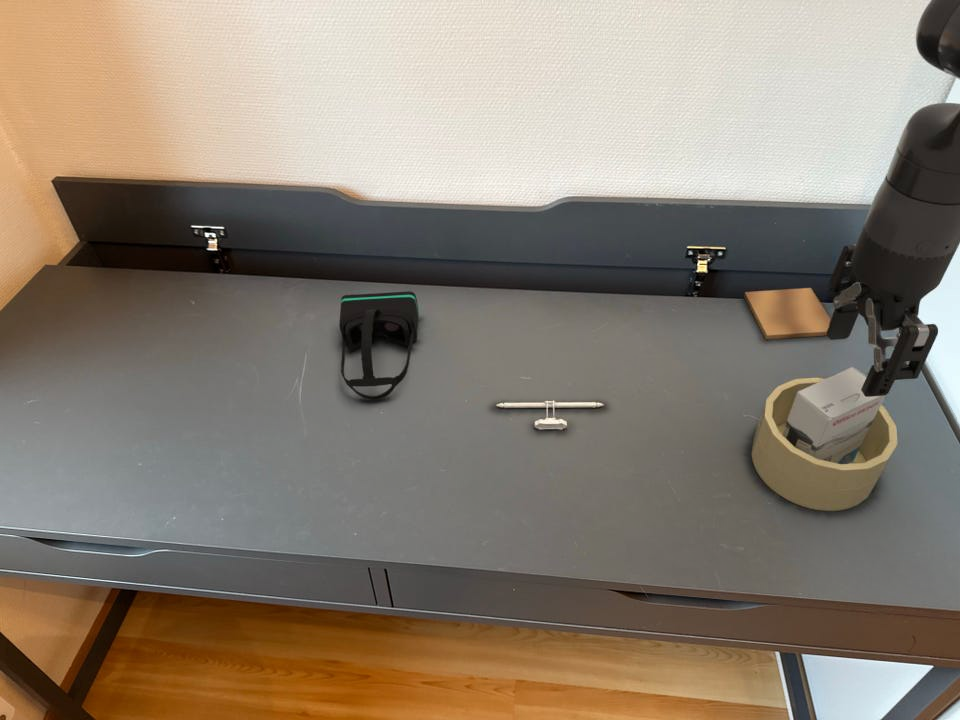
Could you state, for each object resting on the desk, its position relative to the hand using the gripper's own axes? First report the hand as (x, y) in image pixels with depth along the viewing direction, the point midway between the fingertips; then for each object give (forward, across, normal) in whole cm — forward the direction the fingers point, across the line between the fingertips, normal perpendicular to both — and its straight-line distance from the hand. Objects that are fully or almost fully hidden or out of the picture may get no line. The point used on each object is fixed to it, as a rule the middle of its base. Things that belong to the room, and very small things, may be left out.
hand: (853, 364), depth 72 cm
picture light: (+16, +10, +30) cm, 36 cm away
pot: (+16, 0, 0) cm, 16 cm away
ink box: (+16, 0, 0) cm, 16 cm away
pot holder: (+16, +27, -7) cm, 32 cm away
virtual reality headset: (+17, +23, +53) cm, 60 cm away
